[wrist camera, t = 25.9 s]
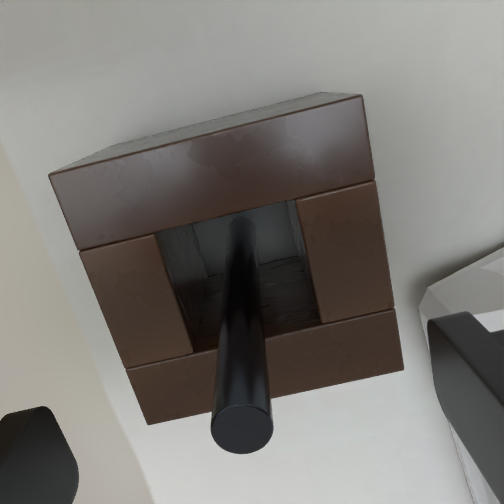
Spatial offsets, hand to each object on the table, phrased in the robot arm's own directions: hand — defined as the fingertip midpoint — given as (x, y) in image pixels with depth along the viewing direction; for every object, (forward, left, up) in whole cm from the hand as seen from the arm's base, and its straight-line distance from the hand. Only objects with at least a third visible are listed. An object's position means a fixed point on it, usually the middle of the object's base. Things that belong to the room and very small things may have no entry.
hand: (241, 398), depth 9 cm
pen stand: (0, 0, -13) cm, 13 cm away
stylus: (0, 0, -13) cm, 13 cm away
